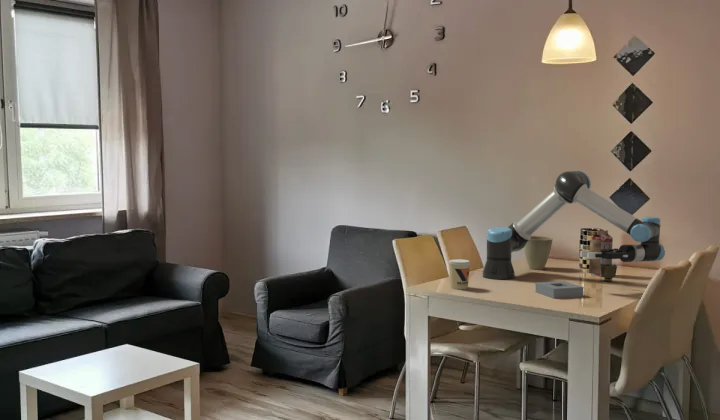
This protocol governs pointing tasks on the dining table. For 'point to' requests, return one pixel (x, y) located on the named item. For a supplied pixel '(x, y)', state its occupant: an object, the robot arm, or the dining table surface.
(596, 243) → the walnut peg
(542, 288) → the socket block
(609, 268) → the cup
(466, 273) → the coffee cup
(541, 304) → the dining table surface
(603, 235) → the juice carton
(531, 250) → the plant pot
